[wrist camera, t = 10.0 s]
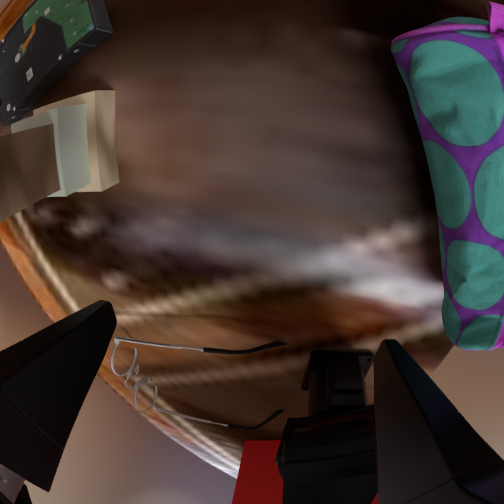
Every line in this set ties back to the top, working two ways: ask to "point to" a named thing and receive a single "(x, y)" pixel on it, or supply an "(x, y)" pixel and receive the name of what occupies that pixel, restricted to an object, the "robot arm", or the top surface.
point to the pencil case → (463, 163)
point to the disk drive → (46, 49)
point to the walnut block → (27, 169)
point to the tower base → (97, 136)
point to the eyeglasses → (211, 350)
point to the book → (260, 475)
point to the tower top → (65, 144)
